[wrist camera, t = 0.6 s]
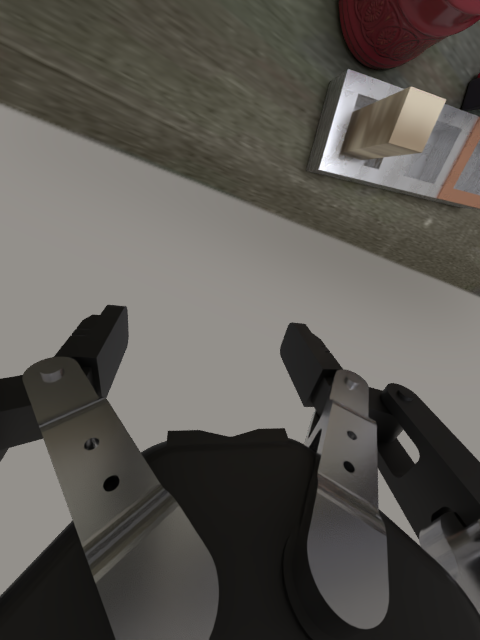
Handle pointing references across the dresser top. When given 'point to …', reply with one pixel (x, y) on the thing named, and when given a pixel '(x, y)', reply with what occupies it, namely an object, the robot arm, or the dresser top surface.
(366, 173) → the rail
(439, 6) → the canister
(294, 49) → the dresser top surface
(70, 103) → the dresser top surface
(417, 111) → the peg
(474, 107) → the dark grey box
